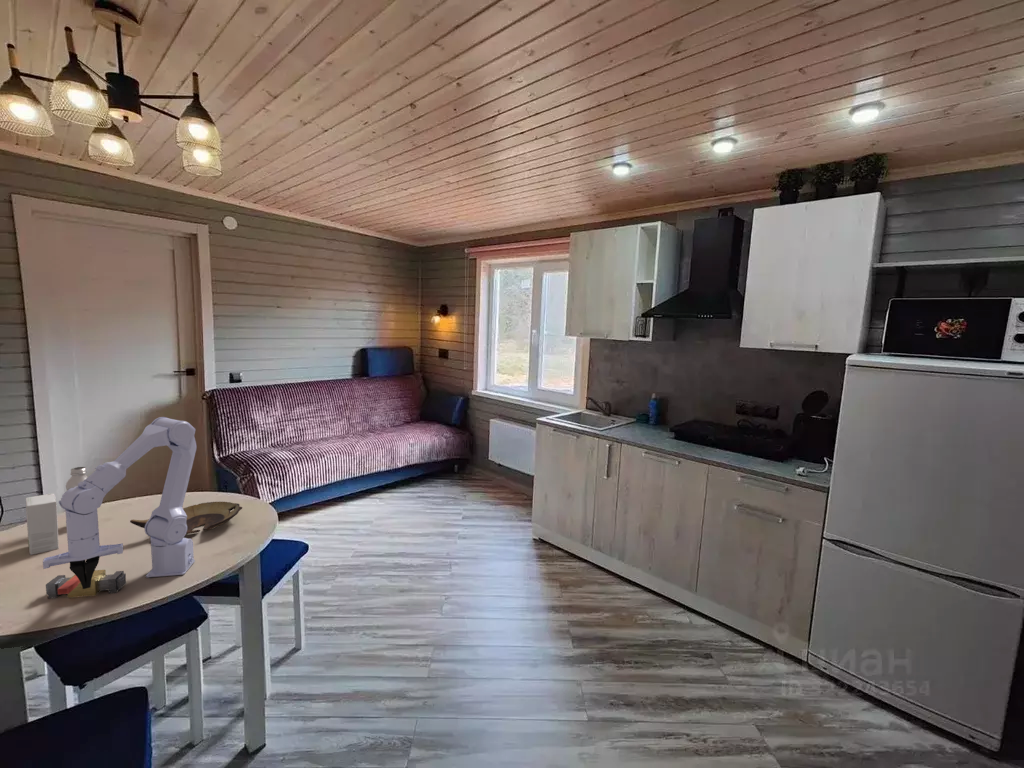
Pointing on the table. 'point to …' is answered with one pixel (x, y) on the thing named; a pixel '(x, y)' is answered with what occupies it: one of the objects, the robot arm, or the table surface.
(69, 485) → the plastic bottle
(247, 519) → the table surface
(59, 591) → the lever
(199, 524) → the olive brown leaf dish
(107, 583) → the pipe valve
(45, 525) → the skincare box
